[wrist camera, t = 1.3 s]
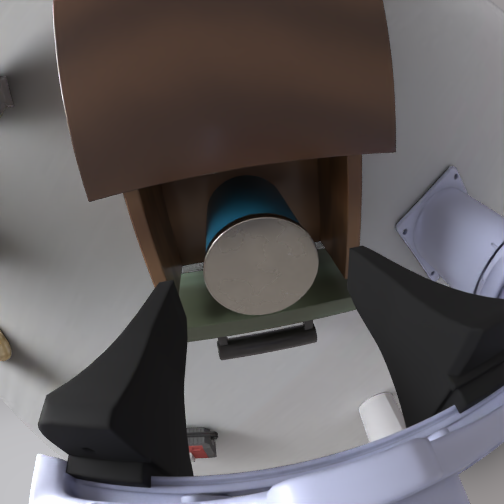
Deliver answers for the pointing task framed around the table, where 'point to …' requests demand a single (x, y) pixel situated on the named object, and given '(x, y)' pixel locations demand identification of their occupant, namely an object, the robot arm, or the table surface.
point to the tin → (256, 248)
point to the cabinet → (220, 85)
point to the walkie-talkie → (201, 443)
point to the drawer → (194, 247)
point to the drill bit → (4, 95)
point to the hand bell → (4, 348)
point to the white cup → (381, 416)
